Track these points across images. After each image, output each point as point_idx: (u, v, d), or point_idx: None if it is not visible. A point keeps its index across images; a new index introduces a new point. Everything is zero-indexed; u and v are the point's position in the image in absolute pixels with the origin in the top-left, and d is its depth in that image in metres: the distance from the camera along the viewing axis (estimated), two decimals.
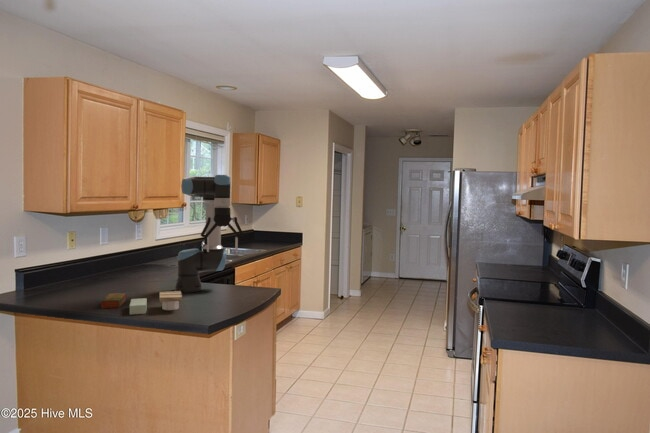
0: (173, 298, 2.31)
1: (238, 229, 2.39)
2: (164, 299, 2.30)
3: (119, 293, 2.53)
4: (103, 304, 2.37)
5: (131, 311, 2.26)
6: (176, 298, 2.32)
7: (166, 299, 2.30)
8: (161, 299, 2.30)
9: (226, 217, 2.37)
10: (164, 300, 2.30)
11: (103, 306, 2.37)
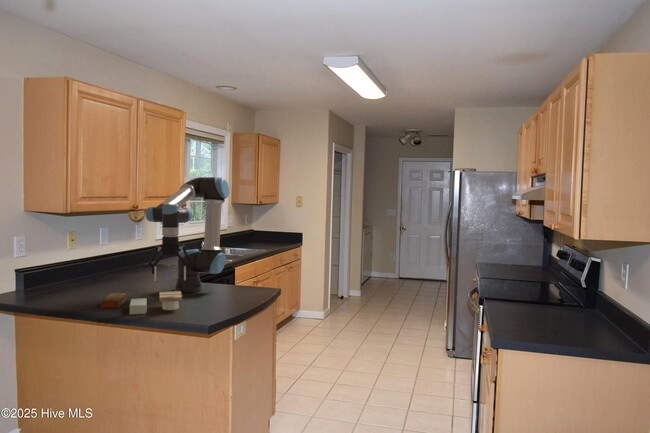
0: (173, 298, 2.31)
1: (186, 258, 2.38)
2: (164, 299, 2.30)
3: (119, 293, 2.53)
4: (102, 304, 2.37)
5: (131, 311, 2.26)
6: (176, 298, 2.32)
7: (166, 299, 2.30)
8: (161, 299, 2.30)
9: (174, 246, 2.36)
10: (164, 300, 2.30)
11: (102, 306, 2.37)
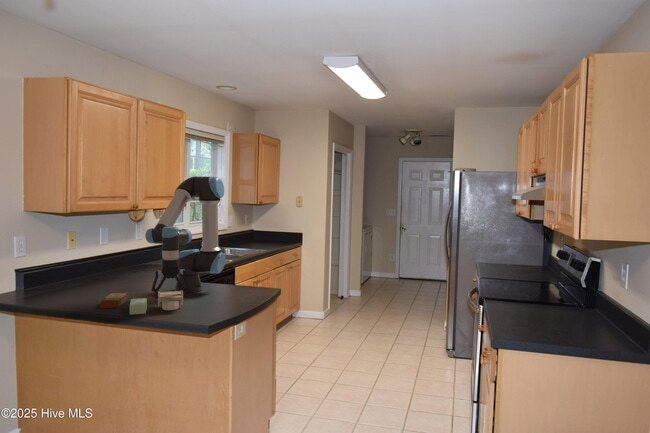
0: (173, 298, 2.31)
1: (184, 282, 2.39)
2: (164, 299, 2.30)
3: (120, 293, 2.53)
4: (102, 304, 2.37)
5: (131, 311, 2.26)
6: (176, 298, 2.32)
7: (166, 299, 2.30)
8: (161, 299, 2.30)
9: (174, 269, 2.37)
10: (164, 300, 2.30)
11: (102, 306, 2.37)
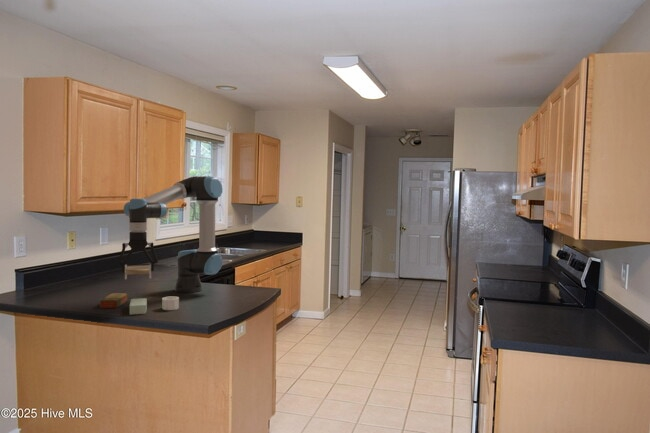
0: (140, 271, 2.26)
1: None
2: (130, 271, 2.25)
3: (120, 293, 2.53)
4: (101, 304, 2.37)
5: (131, 311, 2.26)
6: (143, 271, 2.26)
7: (132, 272, 2.25)
8: (127, 271, 2.24)
9: (142, 241, 2.32)
10: (130, 273, 2.25)
11: (101, 306, 2.37)
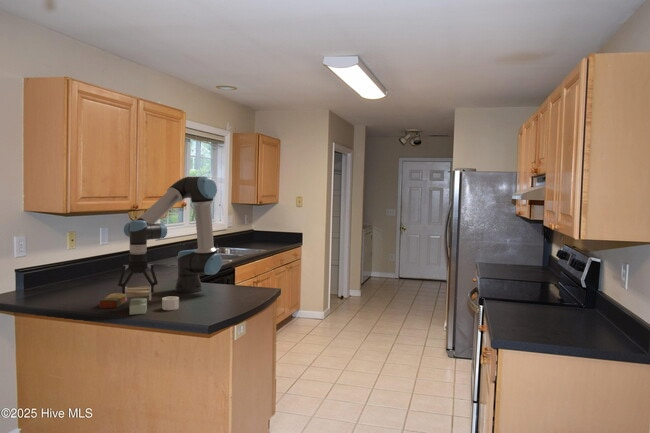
0: (140, 293, 2.26)
1: None
2: (130, 294, 2.25)
3: (121, 293, 2.53)
4: (101, 304, 2.37)
5: (131, 311, 2.26)
6: (143, 293, 2.27)
7: (132, 294, 2.25)
8: (127, 294, 2.25)
9: (142, 263, 2.32)
10: (130, 295, 2.25)
11: (101, 306, 2.37)
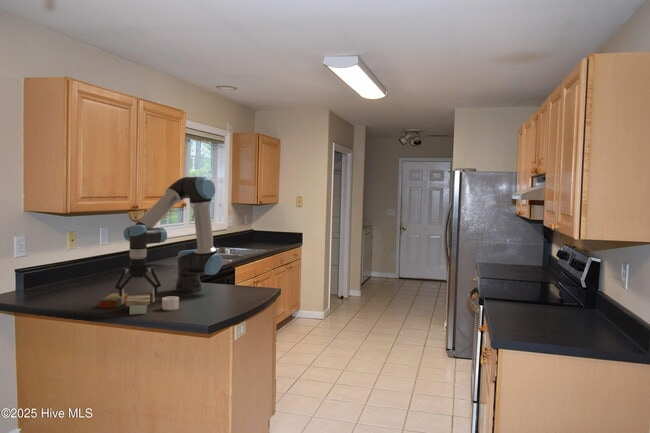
0: (140, 302, 2.27)
1: (155, 280, 2.34)
2: (131, 303, 2.26)
3: None
4: (100, 304, 2.38)
5: (131, 311, 2.26)
6: (143, 302, 2.27)
7: (133, 303, 2.26)
8: (128, 303, 2.25)
9: (142, 268, 2.32)
10: (131, 304, 2.26)
11: (100, 306, 2.38)
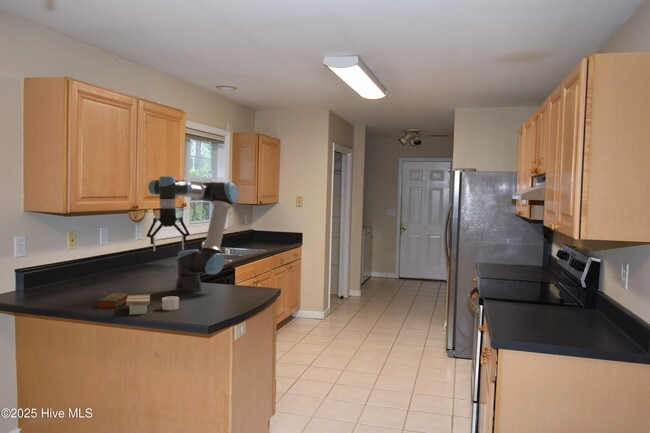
0: (140, 302, 2.27)
1: (184, 229, 2.46)
2: (131, 303, 2.26)
3: (122, 293, 2.53)
4: (100, 304, 2.38)
5: (131, 311, 2.26)
6: (143, 302, 2.27)
7: (133, 303, 2.26)
8: (128, 303, 2.25)
9: (171, 217, 2.44)
10: (131, 304, 2.26)
11: (100, 306, 2.38)
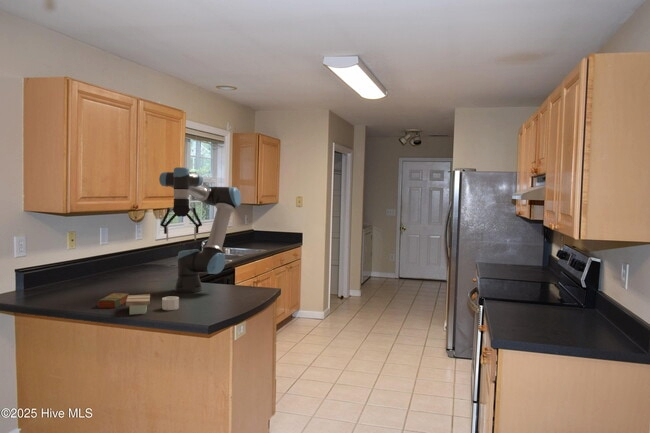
0: (140, 302, 2.27)
1: None
2: (131, 303, 2.26)
3: (122, 293, 2.53)
4: (99, 304, 2.38)
5: (131, 311, 2.26)
6: (143, 302, 2.27)
7: (133, 303, 2.26)
8: (128, 303, 2.25)
9: (185, 208, 2.49)
10: (131, 304, 2.26)
11: (99, 306, 2.38)
